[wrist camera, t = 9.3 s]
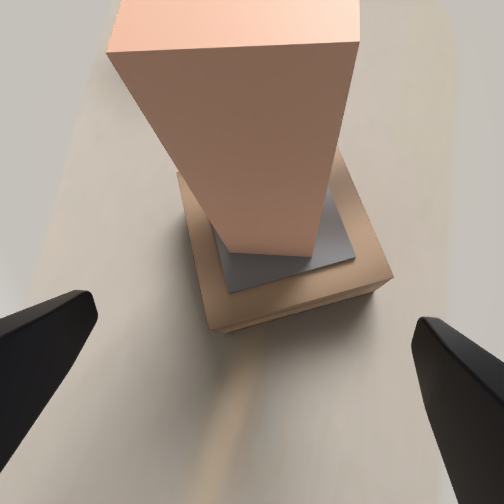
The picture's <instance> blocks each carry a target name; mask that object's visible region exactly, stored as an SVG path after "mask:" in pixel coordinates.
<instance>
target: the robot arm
mask: <svg viewBox="0 0 504 504" xmlns="http://www.w3.org/2000/svg"><path fill="white" fill-rule="evenodd" d="M97 319H98V312H97V309H96V306H95V302H94V299H93V296H92V294H91V293H90V292H89V291H85V290H73V291H71V292H68V293H66V294H63V295H60V296H58V297H55V298H53V299H50V300H47V301H45V302H42V303H40V304H37V305H35V306H32V307H29V308H27V309H24V310H22V311H19V312H17V313H14V314H11V315H9V316H6V317H4V318H1V319H0V473H1V471H2V470H3V468H4V467H5V465H6V464H7V463H8V461H9V460H10V458H11V457H12V455H13V454H14V452H15V451H16V449H17V448H18V446H19V445H20V443H21V442H22V440H23V439H24V437H25V436H26V434H27V433H28V431H29V430H30V428H31V427H32V425H33V424H34V423H35V421H36V420H37V418H38V417H39V415H40V414H41V412H42V411H43V409H44V408H45V406H46V405H47V403H48V402H49V400H50V399H51V397H52V396H53V394H54V393H55V391H56V390H57V388H58V387H59V385H60V384H61V383H62V381H63V380H64V378H65V377H66V375H67V374H68V372H69V370H70V369H71V367H72V366H73V364H74V362H75V360H76V359H77V357H78V355H79V353H80V351H81V349H82V348H83V346H84V344H85V342H86V340H87V338H88V337H89V335H90V333H91V331H92V329H93V327H94V326H95V324H96V322H97ZM411 349H412V354H413V359H414V363H415V367H416V372H417V376H418V380H419V385H420V389H421V393H422V398H423V402H424V406H425V409H426V412H427V416H428V419H429V422H430V424H431V427H432V430H433V433H434V436H435V439H436V441H437V444H438V447H439V450H440V453H441V456H442V458H443V461H444V464H445V467H446V470H447V473H448V475H449V478H450V481H451V484H452V487H453V490H454V492H455V495H456V498H457V501H458V504H504V362H502V361H501V360H499V359H498V358H496V357H495V356H493V355H492V354H490V353H489V352H488V351H486V350H485V349H483V348H482V347H480V346H479V345H477V344H476V343H474V342H473V341H471V340H470V339H468V338H467V337H465V336H464V335H463V334H461V333H460V332H458V331H457V330H455V329H454V328H452V327H451V326H449V325H448V324H447V323H445V322H444V321H442V320H441V319H439V318H435V317H420V318H419V319H418V321H417V324H416V328H415V331H414V335H413V339H412V343H411Z"/></svg>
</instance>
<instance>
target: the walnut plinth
mask: <svg viewBox="0 0 504 504" xmlns="http://www.w3.org/2000/svg"><path fill="white" fill-rule="evenodd" d="M176 173H177V178H178V183H179V187H180V192H181V197H182V202H183V207H184V212H185V217H186V221H187V226H188V231H189V236H190V241H191V246H192V251H193V256H194V260H195V265H196V270H197V275H198V280H199V285H200V290H201V294H202V299H203V304H204V309H205V314H206V319H207V324H208V328H209V329H210V330H214V331H217V332H221V333H228V332H231V331H235V330H238V329H242V328H246V327H249V326H253V325H256V324H260V323H263V322H267V321H271V320H274V319H278V318H281V317H285V316H288V315H292V314H296V313H299V312H303V311H306V310H310V309H313V308H317V307H320V306H324V305H328V304H331V303H335V302H338V301H342V300H345V299H349V298H353V297H356V296H360V295H363V294H367V293H370V292H374V291H375V290H377V289H378V288H380V287H381V286H382V285H384V284H385V283H386V282H388V281H389V280H391V279H392V278H393V277H394V276H393V274H392V271H391V269H390V267H389V264H388V262H387V260H386V257H385V255H384V253H383V250H382V248H381V246H380V243H379V241H378V239H377V236H376V234H375V232H374V229H373V227H372V225H371V223H370V220H369V218H368V216H367V213H366V211H365V209H364V206H363V204H362V202H361V199H360V197H359V195H358V192H357V190H356V188H355V185H354V183H353V181H352V179H351V176H350V174H349V172H348V169H347V167H346V165H345V162H344V160H343V158H342V155H341V153H340V151H339V148H338V146H336V151H335V156H334V160H333V165H332V169H331V174H330V178H329V183H328V187H327V192H326V196H325V201H324V205H323V210H322V214H321V219H320V223H319V228H318V233H317V237H316V242H315V246H314V251H313V255H312V257H300V256H282V255H264V254H246V253H230V252H229V251H228V249H227V248H226V246H225V244H224V243H223V241H222V240H221V238H220V236H219V235H218V233H217V231H216V230H215V228H214V227H213V225H212V223H211V222H210V220H209V219H208V217H207V215H206V214H205V212H204V211H203V209H202V207H201V206H200V204H199V203H198V201H197V199H196V198H195V196H194V194H193V193H192V191H191V190H190V188H189V186H188V185H187V183H186V182H185V180H184V178H183V177H182V175H181V174H180V172H176Z"/></svg>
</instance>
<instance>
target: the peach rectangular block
mask: <svg viewBox="0 0 504 504" xmlns="http://www.w3.org/2000/svg"><path fill="white" fill-rule="evenodd" d="M359 42H360V24H359V0H122V1H121V4H120V7H119V11H118V14H117V17H116V20H115V23H114V26H113V30H112V33H111V36H110V39H109V42H108V45H107V49H106V52H105V53H106V54H107V56H108V58H109V59H110V61H111V62H112V64H113V66H114V67H115V69H116V71H117V72H118V74H119V75H120V77H121V79H122V80H123V82H124V83H125V85H126V87H127V88H128V90H129V91H130V93H131V95H132V96H133V98H134V99H135V101H136V103H137V104H138V106H139V108H140V109H141V111H142V112H143V114H144V116H145V117H146V119H147V120H148V122H149V124H150V125H151V127H152V128H153V130H154V132H155V133H156V135H157V137H158V138H159V140H160V141H161V143H162V145H163V146H164V148H165V149H166V151H167V153H168V154H169V156H170V157H171V159H172V161H173V162H174V164H175V165H176V167H177V169H178V170H179V172H180V174H181V175H182V177H183V178H184V180H185V182H186V183H187V185H188V186H189V188H190V190H191V191H192V193H193V194H194V196H195V198H196V199H197V201H198V203H199V204H200V206H201V207H202V209H203V211H204V212H205V214H206V215H207V217H208V219H209V220H210V222H211V223H212V225H213V227H214V228H215V230H216V231H217V233H218V235H219V236H220V238H221V240H222V241H223V243H224V244H225V246H226V248H227V249H228V251H229V252H230V253H246V254H264V255H282V256H300V257H312V255H313V251H314V246H315V242H316V237H317V233H318V228H319V223H320V219H321V214H322V210H323V205H324V201H325V196H326V192H327V187H328V183H329V178H330V174H331V169H332V165H333V160H334V156H335V151H336V146H337V142H338V137H339V133H340V128H341V124H342V119H343V115H344V110H345V106H346V101H347V97H348V92H349V88H350V83H351V79H352V74H353V69H354V65H355V60H356V56H357V51H358V47H359Z"/></svg>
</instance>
